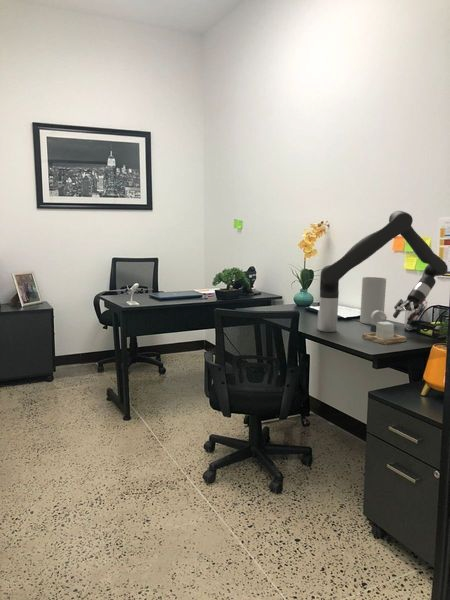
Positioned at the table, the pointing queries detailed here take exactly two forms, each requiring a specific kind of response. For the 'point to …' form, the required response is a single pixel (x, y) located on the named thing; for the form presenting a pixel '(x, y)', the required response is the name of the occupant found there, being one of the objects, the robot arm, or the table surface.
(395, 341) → the tray
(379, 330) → the skincare box
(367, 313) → the cylinder vase
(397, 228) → the robot arm
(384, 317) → the watch
